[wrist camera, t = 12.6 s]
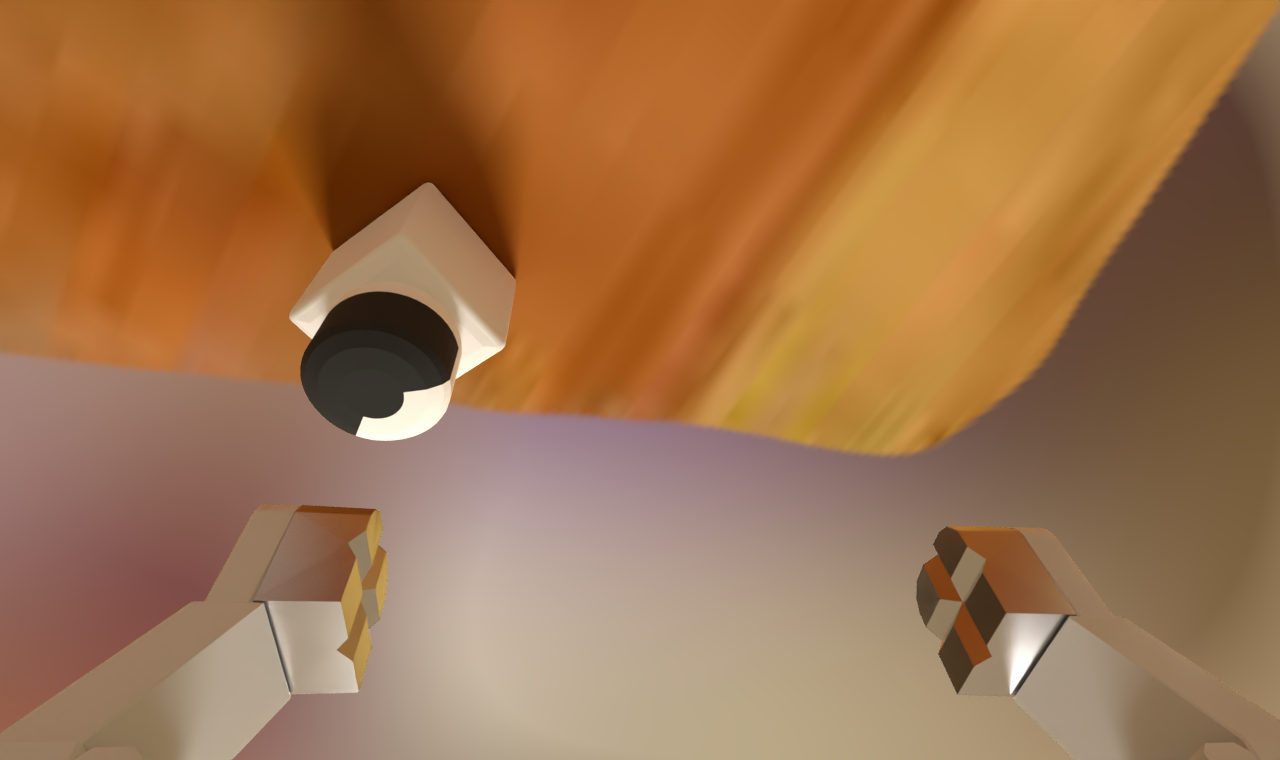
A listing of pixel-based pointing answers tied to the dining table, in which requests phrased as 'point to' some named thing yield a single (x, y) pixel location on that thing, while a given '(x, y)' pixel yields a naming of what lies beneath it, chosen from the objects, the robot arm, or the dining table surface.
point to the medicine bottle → (401, 318)
